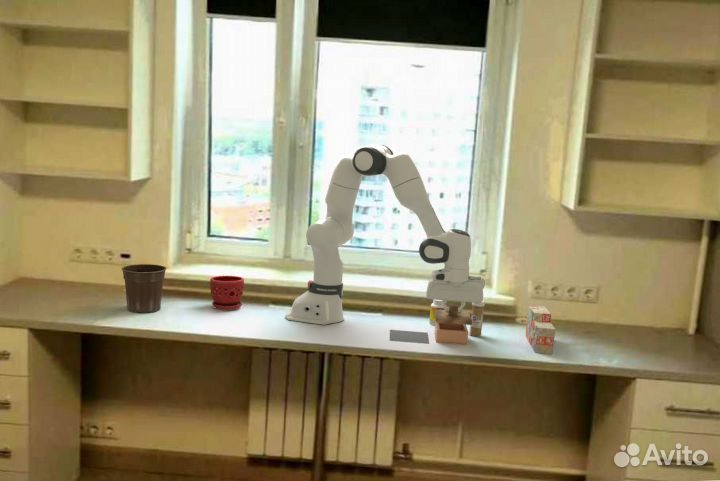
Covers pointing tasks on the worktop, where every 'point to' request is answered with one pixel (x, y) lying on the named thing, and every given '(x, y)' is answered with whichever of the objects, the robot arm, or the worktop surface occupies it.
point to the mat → (409, 336)
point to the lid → (453, 316)
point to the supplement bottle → (435, 306)
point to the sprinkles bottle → (477, 318)
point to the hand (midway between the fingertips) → (453, 312)
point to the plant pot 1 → (143, 287)
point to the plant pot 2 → (227, 292)
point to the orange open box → (451, 333)
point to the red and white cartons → (540, 329)
